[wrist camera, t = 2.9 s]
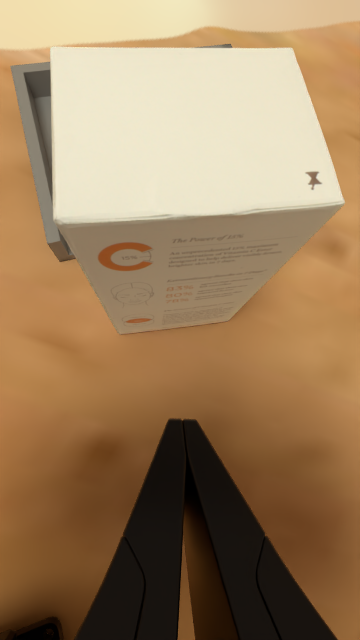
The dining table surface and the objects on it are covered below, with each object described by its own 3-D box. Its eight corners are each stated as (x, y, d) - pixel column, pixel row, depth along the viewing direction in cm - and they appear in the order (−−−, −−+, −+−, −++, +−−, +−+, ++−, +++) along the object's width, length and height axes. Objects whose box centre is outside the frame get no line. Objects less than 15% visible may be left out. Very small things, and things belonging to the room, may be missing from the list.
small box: (214, 244, 22) (299, 41, 9) (229, 322, 20) (355, 205, 8) (108, 252, 21) (43, 37, 8) (116, 336, 19) (50, 226, 7)
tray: (283, 213, 23) (298, 192, 21) (59, 261, 20) (47, 243, 18) (223, 75, 27) (230, 43, 24) (24, 99, 24) (10, 65, 21)
